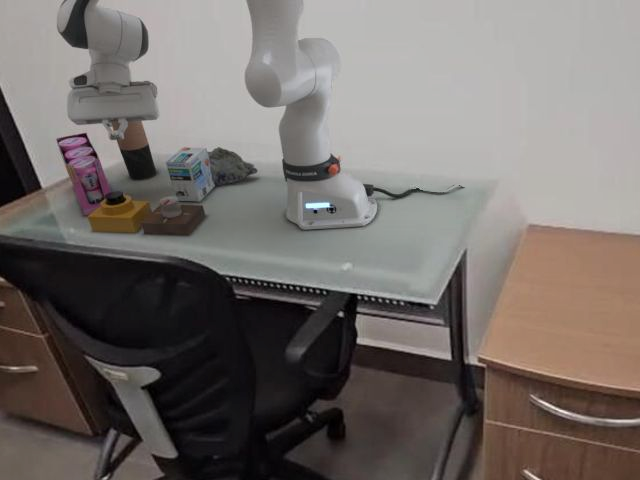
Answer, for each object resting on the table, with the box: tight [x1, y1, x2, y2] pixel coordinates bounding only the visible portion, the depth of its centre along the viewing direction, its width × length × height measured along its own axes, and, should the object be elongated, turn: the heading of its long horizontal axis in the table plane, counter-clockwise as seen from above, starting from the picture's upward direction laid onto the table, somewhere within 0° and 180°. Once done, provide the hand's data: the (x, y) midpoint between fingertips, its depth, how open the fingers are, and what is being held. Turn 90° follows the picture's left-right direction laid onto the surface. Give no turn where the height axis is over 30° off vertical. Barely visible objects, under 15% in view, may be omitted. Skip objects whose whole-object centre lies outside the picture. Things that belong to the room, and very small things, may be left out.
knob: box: [158, 195, 182, 218], centre depth 145 cm, size 4×4×4 cm
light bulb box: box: [165, 146, 216, 202], centre depth 159 cm, size 11×7×11 cm, turn 173°
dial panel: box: [141, 204, 206, 236], centre depth 147 cm, size 11×10×3 cm
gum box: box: [56, 132, 112, 216], centre depth 158 cm, size 24×8×14 cm, turn 31°
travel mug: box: [111, 121, 157, 181], centre depth 168 cm, size 8×8×20 cm
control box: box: [86, 194, 153, 234], centre depth 148 cm, size 11×9×6 cm
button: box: [105, 190, 125, 205], centre depth 146 cm, size 4×4×2 cm
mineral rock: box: [207, 146, 259, 186], centre depth 165 cm, size 13×11×10 cm
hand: (116, 139), depth 146 cm, fingers closed
